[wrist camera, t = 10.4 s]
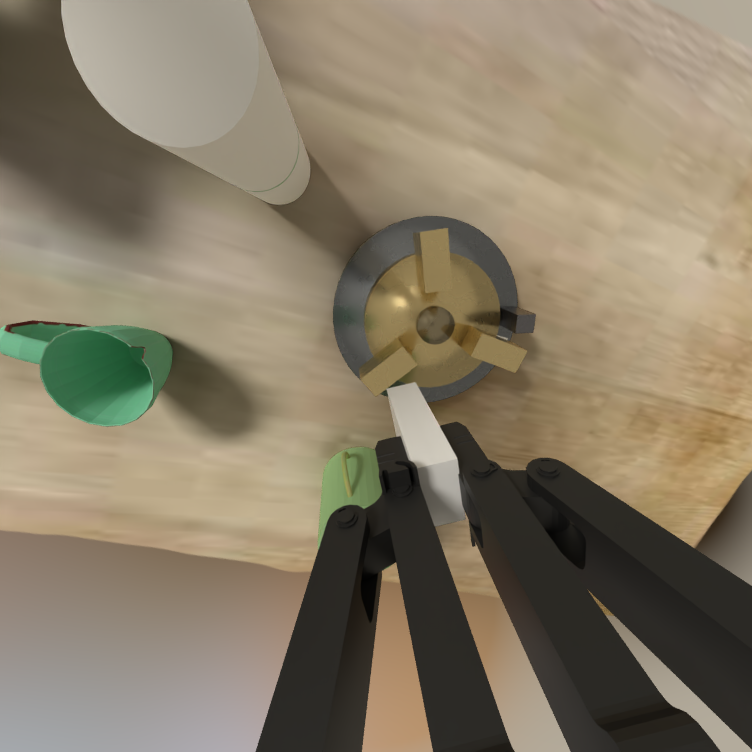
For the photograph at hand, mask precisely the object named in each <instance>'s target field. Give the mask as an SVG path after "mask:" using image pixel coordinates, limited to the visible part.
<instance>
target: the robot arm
mask: <svg viewBox="0 0 752 752" xmlns="http://www.w3.org/2000/svg"><path fill="white" fill-rule="evenodd" d="M387 393H388V398H389V403H390V408H391V413H392V417H393V422H394V427H395V432H396V436H397V437H394V438H389V439H385V440H381V441H378V443H377V445H376V448H375V452H376V457H377V462H378V467H379V480H380V484H381V488H382V493H381V496H380V497H379V499H378V500H377V501H376V502H375V503H373V504H372V505H370V506H368V507H366V508H365V509H363V508H362V507H360V506H358V505H351V504H350V505H346V506H342V507H340V508H338V509H336V510H335V511H334V512H333V513H332V514H331V515H330V517H329V519H328V521H327V524H326V527H325V531H324V534H323V537H322V540H321V543H320V547H319V550H318V553H317V556H316V559H315V563H314V566H313V569H312V572H311V576H310V579H309V582H308V585H307V589H306V592H305V595H304V598H303V602H302V604H301V608H300V611H299V614H298V617H297V621H296V624H295V627H294V630H293V633H292V637H291V640H290V643H289V647H288V649H287V653H286V656H285V659H284V662H283V666H282V669H281V672H280V676H279V678H278V682H277V685H276V688H275V691H274V695H273V698H272V701H271V704H270V707H269V710H268V714H267V717H266V720H265V723H264V727H263V730H262V733H261V736H260V739H259V743H258V746H257V749H256V752H362V745H363V736H364V727H365V718H366V710H367V701H368V693H369V684H370V675H371V666H372V658H373V649H374V640H375V632H376V622H377V614H378V605H379V597H380V588H381V579H382V570H384V569H385V568H387V567H389V566H390V565H392V564H394V563H395V562H396V563H397V568H398V573H399V579H400V584H401V589H402V594H403V599H404V604H405V609H406V614H407V619H408V625H409V630H410V635H411V640H412V645H413V650H414V656H415V661H416V666H417V671H418V676H419V681H420V686H421V691H422V696H423V702H424V707H425V712H426V717H427V722H428V727H429V732H430V738H431V742H432V748H433V752H515V751H514V750H513V748H512V746H511V744H510V741H509V739H508V736H507V733H506V731H505V727H504V725H503V722H502V719H501V716H500V713H499V710H498V708H497V704H496V702H495V699H494V696H493V693H492V690H491V687H490V684H489V681H488V679H487V676H486V673H485V670H484V667H483V664H482V662H481V659H480V656H479V653H478V650H477V647H476V644H475V641H474V638H473V635H472V633H471V630H470V627H469V624H468V621H467V618H466V615H465V613H464V610H463V607H462V604H461V601H460V598H459V595H458V592H457V589H456V587H455V584H454V581H453V578H452V575H451V572H450V569H449V567H448V564H447V561H446V558H445V555H444V552H443V549H442V546H441V544H440V541H439V538H438V535H437V532H436V529H435V527H436V526H440V525H444V524H449V523H453V522H457V521H461V520H465V513H464V510H465V512H466V514H467V517H468V519H469V526H470V534H471V542H472V547H473V546H475V542H476V544H477V546H478V549H479V551H480V553H481V555H482V557H483V560H484V562H485V564H486V566H487V568H488V571H489V573H490V575H491V577H492V579H493V582H494V584H495V586H496V588H497V590H498V593H499V595H500V597H501V599H502V601H503V603H504V606H505V608H506V610H507V612H508V614H509V617H510V619H511V621H512V623H513V626H514V627H515V630H516V632H517V634H518V637H519V639H520V641H521V643H522V645H523V647H524V650H525V652H526V654H527V656H528V659H529V661H530V663H531V665H532V667H533V670H534V672H535V674H536V676H537V678H538V680H539V683H540V685H541V687H542V689H543V691H544V694H545V696H546V698H547V700H548V702H549V705H550V707H551V709H552V711H553V714H554V716H555V718H556V720H557V722H558V725H559V727H560V729H561V731H562V733H563V736H564V738H565V740H566V742H567V744H568V747H569V749H570V751H571V752H720V750H719V749H718V748H717V746H716V745H715V744H714V742H713V741H712V739H711V738H710V737H709V736H708V735H707V733H706V732H705V731H704V730H703V729H702V727H701V726H700V725H699V724H698V723H697V721H695V720H694V719H693V718H692V717H691V716H690V715H689V714H687V713H686V712H684V711H682V710H680V709H677V708H675V707H673V706H671V705H670V704H669V703H668V702H667V701H666V700H665V699H664V697H663V696H662V695H661V693H660V692H659V691H658V689H657V688H656V686H655V685H654V684H653V682H652V681H651V680H650V678H649V677H648V675H647V674H646V672H645V671H644V669H643V668H642V667H641V665H640V664H639V662H638V661H637V660H636V658H635V657H634V655H633V654H632V653H631V651H630V650H629V648H628V647H627V646H626V644H625V643H624V641H623V640H622V639H621V637H620V636H619V634H618V633H617V631H616V630H615V628H614V627H613V626H612V624H611V623H610V621H609V620H608V618H607V617H606V616H605V614H604V613H603V611H602V610H601V609H600V607H599V606H598V604H597V603H596V601H595V600H594V599H593V597H592V596H591V594H590V593H589V592H588V590H589V591H590V592H591V593H592V594H593V595H594V596H595V597H596V598H597V599H598V600H599V601H600V602H601V603H602V604H603V605H604V606H605V607H606V608H607V609H608V610H609V611H610V612H611V613H612V614H613V615H614V616H615V617H617V618H618V619H619V620H620V621H621V622H622V623H623V624H624V625H625V626H626V627H627V628H628V629H629V630H630V631H631V632H632V633H633V634H634V635H635V636H636V637H637V638H638V639H639V640H640V641H641V642H642V643H643V644H644V645H645V646H646V647H647V648H648V649H649V650H651V652H652V653H654V655H655V656H657V657H658V658H659V659H660V660H661V661H662V662H663V663H664V664H665V665H666V666H667V667H668V668H669V669H670V670H671V671H672V672H673V673H674V674H675V675H676V676H677V677H678V678H679V679H680V680H681V681H682V682H683V683H684V684H685V685H686V686H687V687H689V689H690V690H691V691H692V692H694V694H696V695H697V696H698V697H699V698H700V699H701V700H702V701H703V702H704V703H705V704H706V705H707V706H708V707H709V708H710V709H711V710H712V711H713V712H714V713H715V714H716V715H717V716H718V717H719V718H720V719H721V720H722V721H723V722H724V723H725V724H726V725H727V726H728V727H729V728H730V729H731V730H732V731H733V732H735V734H737V735H738V736H739V737H740V738H741V739H742V740H743V741H744V742H745V743H746V744H747V745H748V746H749V747H750V748H751V749H752V586H751V585H749V584H748V583H746V582H745V581H743V580H742V579H740V578H739V577H737V576H736V575H734V574H732V573H731V572H730V571H728V570H726V569H725V568H723V567H722V566H720V565H719V564H717V563H716V562H714V561H712V560H711V559H709V558H708V557H707V556H705V555H704V554H702V553H701V552H699V551H697V550H696V549H694V548H693V547H691V546H690V545H688V544H687V543H685V542H684V541H682V540H681V539H679V538H678V537H676V536H675V535H673V534H672V533H670V532H668V531H667V530H665V529H664V528H662V527H661V526H659V525H658V524H656V523H655V522H653V521H652V520H650V519H649V518H647V517H646V516H644V515H643V514H641V513H639V512H638V511H636V510H635V509H633V508H632V507H630V506H629V505H627V504H626V503H624V502H623V501H621V500H620V499H618V498H617V497H615V496H614V495H612V494H610V493H609V492H607V491H606V490H604V489H603V488H601V487H600V486H598V485H597V484H595V483H594V482H592V481H591V480H589V479H588V478H586V477H585V476H583V475H581V474H580V473H578V472H577V471H575V470H574V469H572V468H571V467H569V466H568V465H566V464H565V463H563V462H561V461H559V460H556V459H552V458H538V459H535V460H532V461H531V462H530V463H528V465H527V467H526V470H505V469H502V468H501V467H500V466H499V465H498V464H497V463H496V462H493V461H491V460H488V459H487V457H486V456H485V454H484V453H483V451H482V450H481V448H480V447H479V445H478V444H477V442H476V441H475V440H474V438H473V437H472V435H471V434H470V432H469V431H468V429H467V428H466V427H465V426H464V425H462V424H460V423H458V422H454V423H450V424H446V425H441V426H439V424H438V422H437V420H436V419H435V417H434V415H433V413H432V411H431V410H430V408H429V406H428V404H427V402H426V400H425V399H424V397H423V395H422V393H421V391H420V389H419V388H418V386H417V384H416V382H414V383H409V384H405V385H401V386H396V387H392V388H388V389H387ZM586 588H587V589H588V590H587V589H586Z"/></svg>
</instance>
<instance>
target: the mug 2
mask: <svg viewBox="0 0 752 752" xmlns="http://www.w3.org/2000/svg"><path fill="white" fill-rule="evenodd" d="M381 493H382V488H381V484H380V480H379V467H378V462H377V457H376V452H375V450H374V449H371V448H366V447H353V448H348V449H345V450H343V451H341V452H339V453H337V454H336V455H334V456H333V457H332V458H331V459H330V460H329V462H328V463H327V465H326V467H325V469H324V473H323V482H322V495H321V507H320V519H319V532H318V550H319V547H320V543H321V540H322V537H323V534H324V531H325V527H326V524H327V521H328V519H329V517H330V515H331V514H332V513H333V512H334V511H335V510H336V509H338V508H340V507H342V506H346V505H350V504H351V505H358V506H360V507H362V508H363V509H365V508H366V507H368V506H370V505H372V504H373V503H375V502H376V501H377V500H378V499H379V497H380V496H381ZM390 566H391V565H390ZM390 566H389V567H390ZM387 568H388V567H387ZM385 569H386V568H385Z"/></svg>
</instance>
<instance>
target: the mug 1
mask: <svg viewBox="0 0 752 752" xmlns="http://www.w3.org/2000/svg"><path fill="white" fill-rule="evenodd" d="M0 352H1V353H2V354H4V355H7V356H10V357H13V358H16V359H19V360H23V361H27V362H31V363H36V364H40V377H41V380H42V382H43V384H44V387H45V389H46V391H47V393H48V394H49V395H50V397H51V398H52V399H53V400H54V402H55V403H56V404H57V405H58V406H59V407H60V408H62V409H63V410H64V411H66V412H67V413H68V414H70V415H71V416H72V417H75V418H77V419H79V420H82V421H84V422H86V423H89V424H94V425H100V426H106V427H109V426H120V425H125V424H127V423H130V422H132V421H135V420H137V419H138V418H139V417H141V416H142V415H143V414H144V413H145V412H146V411H147V410H148V409H149V408H151V406H152V405H153V403H154V401H155V399H156V397H157V395H158V393H159V391H160V390H161V388H162V387H163V385H164V384H165V381H166V379H167V377H168V375H169V372H170V369H171V365H172V356H173V350H172V346H171V344H170V343H169V341H168V340H167V339H166V338H165V337H164V336H163V335H161V334H160V333H158V332H155V331H152V330H148V329H144V328H139V327H132V326H118V325H112V326H95V327H91V326H86V325H81V324H69V323H57V322H45V321H33V320H32V321H27V322H21V323H16V324H9V325H5V326H4V327H2V328H1V329H0Z"/></svg>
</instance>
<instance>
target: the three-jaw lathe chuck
mask: <svg viewBox="0 0 752 752" xmlns="http://www.w3.org/2000/svg"><path fill="white" fill-rule="evenodd" d="M413 241H414V251H415V253H412V254H410V255H407V256H404V257H402V258H401V259H399V260H397V261H395V262H394V263H392V264H391V265H390V266H388V267H387V268H386V269H385V270H384V271H383V272H382V273H381V274H380V276H379V277H378V278H377V279H376V281H375V282H374V284H373V286H372V287H371V290H370V292H369V294H368V297H367V300H366V303H365V309H364V329H365V334H366V338H367V342H368V345H369V348H370V350H371V353H372V354H373V356H374V357H372V358H371V359H370V360H369V361H367V362H366V363H365V364H363V365H362V366H361V367H360V368H359V373H360V380H361V381H362V382H363V383H364V384H365V385H366V386H367V387H368V389H369V390H370V391H371V392H372V393H373V394H374V395H375V396H378V395H379V394H380V393H382V392H383V391H384V390H386V389H387V388H388V387H390V386H391V385H392V384H393V383H395V382H396V381H397V380H399V381H401V382H403V383H406V384H409V383H414V382H416V384H417V386H418V387H438V386H443V385H447V384H450V383H453V382H455V381H457V380H459V379H461V378H463V377H465V376H466V375H468V374H469V373H471V372H472V371H473V370H474V369H476V368H477V367H478V366H479V365H480V364H481V362H482V361H485V362H488V363H490V364H493V365H496V366H498V367H501V368H503V369H506V370H509V371H511V372H514V373H516V371H517V370H518V368H519V366H520V364H521V362H522V361H523V359H524V357H525V355H526V353H527V350H525V349H523V348H521V347H520V346H518V345H516V344H515V343H513V342H511V341H508V340H506V339H503V338H501V337H498V336H497V334H498V330H499V324H500V304H499V299H498V295H497V292H496V290H495V287H494V285H493V283H492V281H491V280H490V278H489V277H488V276H487V274H486V273H485V272H484V271H483V270H482V269H481V268H480V267H479V266H478V265H477V264H475V263H474V262H473V261H471V260H469V259H467V258H465V257H463V256H460V255H458V254H454V253H450V251H449V236H448V228H444V229H436V230H430V231H423V232H417V233H413Z"/></svg>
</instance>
